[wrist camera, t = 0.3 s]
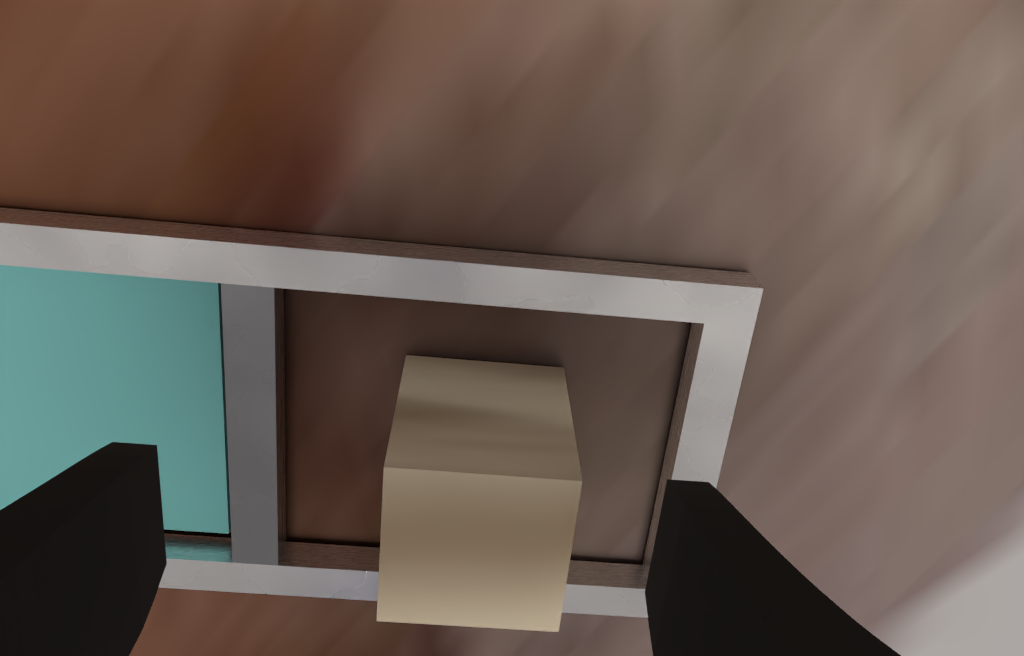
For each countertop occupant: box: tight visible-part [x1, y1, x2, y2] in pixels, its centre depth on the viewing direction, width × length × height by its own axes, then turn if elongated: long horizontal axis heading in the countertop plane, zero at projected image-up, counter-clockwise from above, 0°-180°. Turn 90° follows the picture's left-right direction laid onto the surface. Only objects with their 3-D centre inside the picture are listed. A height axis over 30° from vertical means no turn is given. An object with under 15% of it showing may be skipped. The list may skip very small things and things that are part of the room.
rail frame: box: [0, 207, 763, 618], centre depth 22 cm, size 10×24×1 cm, turn 84°
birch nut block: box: [377, 355, 583, 632], centre depth 21 cm, size 4×4×5 cm
